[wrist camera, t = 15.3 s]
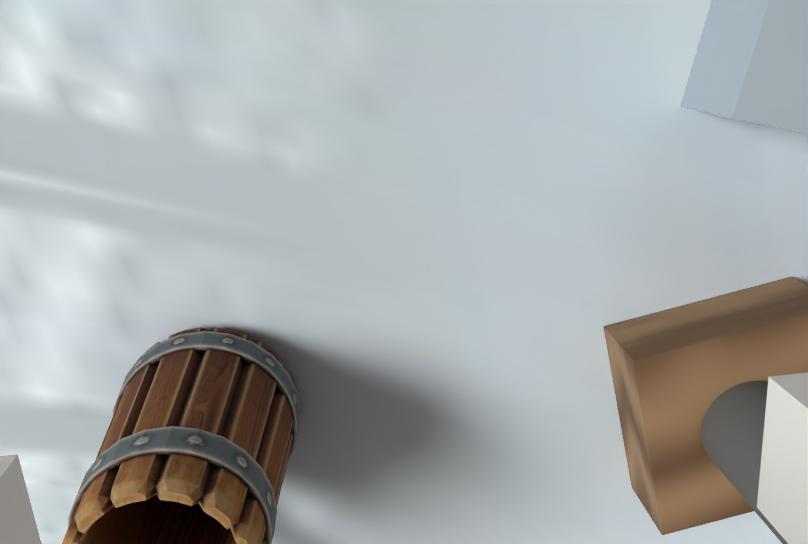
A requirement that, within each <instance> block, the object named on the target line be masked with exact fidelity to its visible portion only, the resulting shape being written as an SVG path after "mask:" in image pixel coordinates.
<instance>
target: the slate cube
mask: <svg viewBox="0 0 808 544" xmlns="http://www.w3.org/2000/svg"><path fill="white" fill-rule="evenodd" d="M681 107H685V108H689V109H693V110H698V111H702V112H706V113H710V114H714V115H718V116H722V117H726V118H730V119H734V120H739V121H744V122H749V123H754V124H759V125H764V126H769V127H774V128H779V129H784V130H789V131H794V132H799V133H804V134H808V0H712V2H711V5H710V8H709V12H708V15H707V18H706V22H705V25H704V28H703V32H702V35H701V39H700V42H699V45H698V49H697V52H696V55H695V59H694V62H693V66H692V69H691V72H690V76H689V79H688V82H687V86H686V89H685V93H684V96H683V99H682V103H681Z"/></svg>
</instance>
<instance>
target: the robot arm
mask: <svg viewBox="0 0 808 544" xmlns="http://www.w3.org/2000/svg"><path fill="white" fill-rule="evenodd" d="M757 508H758V509H759V511H760V512H761V513H762V514H763V515H764V516H765V517H766V519H767V520H768V521H769V522H770V523H771V524H772V526H773V527H774V528H775V529H776V530H777V531H778V533H779V534H780V535H781V536H782V537H783V538H784V539H785V541H786V542H787V543H788V544H808V373H798V374H789V375H779V376H769V378H768V389H767V400H766V411H765V422H764V433H763V444H762V455H761V466H760V477H759V488H758V499H757ZM0 544H41V541H40V537H39V533H38V530H37V526H36V522H35V518H34V514H33V511H32V507H31V503H30V499H29V496H28V492H27V488H26V484H25V481H24V477H23V473H22V469H21V466H20V462H19V458H18V455H8V456H0Z"/></svg>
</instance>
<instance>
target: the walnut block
mask: <svg viewBox="0 0 808 544" xmlns="http://www.w3.org/2000/svg"><path fill="white" fill-rule="evenodd" d="M604 331H605V337H606V343H607V348H608V354H609V360H610V365H611V371H612V377H613V383H614V388H615V394H616V400H617V405H618V411H619V417H620V422H621V428H622V434H623V439H624V445H625V451H626V456H627V462H628V468H629V473H630V479H631V485H632V488H633V490H634V491H635V493H636V494H637V496H638V498H639V499H640V501H641V502H642V504H643V506H644V507H645V509H646V510H647V512H648V513H649V515H650V517H651V518H652V520H653V521H654V523H655V524H656V526H657V528H658V529H659V531H660V532H661V534H662V535H665V534H669V533H672V532H676V531H680V530H684V529H688V528H691V527H695V526H699V525H703V524H706V523H710V522H714V521H718V520H722V519H725V518H729V517H733V516H737V515H741V514H744V513H748V512H752V511H754V510H753V508H752V507H751V506H750V505H749V504H748V502H747V501H746V500H745V499H744V498H743V497H742V495H741V494H740V493H739V492H738V491H737V490H736V488H735V487H734V486H733V485H732V484H731V483H730V481H729V480H728V479H727V478H726V477H725V475H724V474H723V473H722V472H721V470H720V469H719V468H718V467H717V466H716V464H715V463H714V462H713V461H712V460H711V458H710V457H709V456H708V454H707V453H706V451H705V449H704V446H703V444H702V440H701V427H702V423H703V419H704V417H705V414H706V412H707V411H708V409H709V407H710V406H711V404H712V403H713V402H714V401H715V400H716V399H717V398H718V397H719V396H720V395H721V394H723V393H724V392H725V391H727V390H729V389H731V388H733V387H734V386H736V385H739V384H742V383H746V382H752V381H766V382H768V378H769V376H779V375H789V374H798V373H808V285H806V284H804V283H802V282H801V281H799V280H797V279H795V278H793V277H789V278H785V279H782V280H778V281H774V282H770V283H767V284H763V285H759V286H755V287H751V288H748V289H744V290H740V291H736V292H733V293H729V294H725V295H721V296H717V297H714V298H710V299H706V300H702V301H698V302H695V303H691V304H687V305H683V306H680V307H676V308H672V309H668V310H664V311H661V312H657V313H653V314H649V315H646V316H642V317H638V318H634V319H630V320H627V321H623V322H619V323H615V324H611V325H608V326H604Z"/></svg>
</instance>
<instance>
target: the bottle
mask: <svg viewBox="0 0 808 544" xmlns="http://www.w3.org/2000/svg"><path fill="white" fill-rule="evenodd" d="M767 389H768V382H766V381H752V382H746V383H742V384H739V385H736V386H734V387H733V388H731V389H729V390H727V391H725V392H724V393H723V394H721V395H720V396H719V397H718V398H717V399H716V400H715V401H714V402H713V403H712V404H711V406H710V407H709V409H708V411H707V412H706V414H705V417H704V419H703V423H702V427H701V440H702V444H703V446H704V449H705V451H706V453H707V454H708V456H709V457H710V458H711V460H712V461H713V462H714V463H715V464H716V466H717V467H718V468H719V469H720V470H721V472H722V473H723V474H724V475H725V477H726V478H727V479H728V480H729V481H730V483H731V484H732V485H733V486H734V487H735V488H736V490H737V491H738V492H739V493H740V494H741V495H742V497H743V498H744V499H745V500H746V501H747V502H748V504H749V505H750V506H751V507H752V508H753V510H754V511H755V512H756V513H757V514H758V515H759V517H760V518H761V519H762V520H763V521H764V522H765V524H766V525H767V526H768V527H769V528H770V529H771V531H772V532H773V533H774V534H775V535H776V536H777V538H778V539H779V540H780V541H781V542H782V544H788V543H787V542H786V541H785V539H784V538H783V537H782V536H781V535H780V534H779V533H778V531H777V530H776V529H775V528H774V527H773V526H772V524H771V523H770V522H769V521H768V520H767V519H766V517H765V516H764V515H763V514H762V513H761V512H760V511H759V509H758V508H757V499H758V488H759V477H760V466H761V455H762V444H763V433H764V422H765V411H766V400H767Z"/></svg>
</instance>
